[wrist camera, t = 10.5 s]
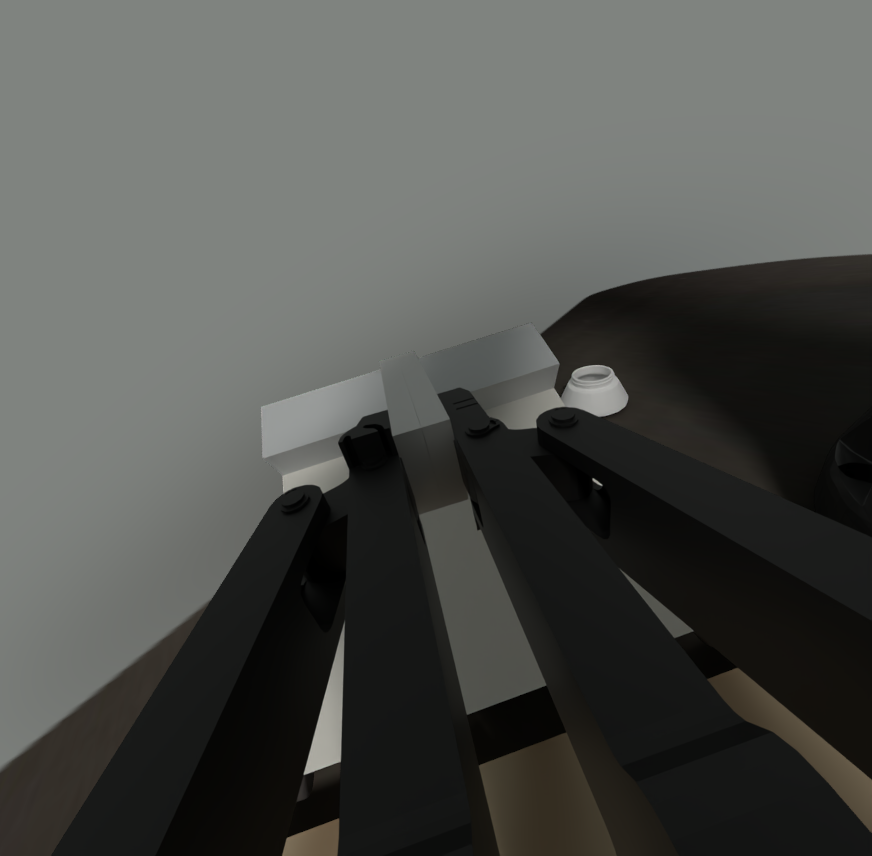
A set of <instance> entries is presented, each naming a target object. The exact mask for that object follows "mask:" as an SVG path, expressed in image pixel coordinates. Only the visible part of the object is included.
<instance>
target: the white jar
mask: <svg viewBox="0 0 872 856" xmlns="http://www.w3.org/2000/svg"><path fill="white" fill-rule="evenodd" d="M561 400H562V402H563V403H564V405H565V406H566V407H574V408H578V409H582V410H585V411H587V412H589V413H591V414H594V415H596V416H598V417H601V416H607V415H610V414H613V413H616V412H619V411H620V410H621V409H623V408H624V407H625V406H626V404H627V401H628V395H627V393H626V391H625V389H624V388H623V386H622V385H621V383H620V381H619V380H618V378H617V377H616V376H614V372H613V370H612V369H611V368H609V367H606V366H601V365H592V366H586V367H582V368H579V369H577V370H575V371H574V372H573V373H572V378H571V379H570V381H569V382H568V384H567V386H566V388H565V390H564V392H563V394H562V396H561Z"/></svg>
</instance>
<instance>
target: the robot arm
mask: <svg viewBox="0 0 872 856" xmlns="http://www.w3.org/2000/svg"><path fill="white" fill-rule="evenodd" d="M379 364H380V369H381V375H382V381H383V386H384V392H385V397H386V403H387V408H388V410H384V411H381V412H378V413H374V414H371V415H367V416H364V417H362V418H361V420H360V421H359V423H358V424H357V426H356V427H353V428H352V429H350V430H348V431H347V432H345V433H344V434H343V435H342V436H341V437H340V439H339V441H338V445H339V447H340V449H341V452H342V454H343V456H344V459H345V461H346V463H347V466H348V468H349V478H348V479H347V480H346V481H344V482H343V483H342V484H340V485H338V486H337V487H335V488H333V489H331V490H329V491H327V492H325V493H323V492H322V490H321V489H320V487H318V486H316V485H303V486H299V487H295V488H292V489H291V490H288V491H287V492H285V493H284V494H283V495H281V496H280V497H279V498H277V499H276V500H275V501H274V502H273V504H272V505H271V506H270V507H269V509H268V511H267V512H266V514H265V515H264V517H263V519H262V520H261V522H260V523H259V525H258V527H257V528H256V530H255V532H254V533H253V535H252V536H251V538H250V539H249V541H248V542H247V544H246V546H245V547H244V549H243V551H242V552H241V554H240V555H239V557H238V559H237V560H236V562H235V563H234V565H233V567H232V568H231V570H230V571H229V573H228V574H227V576H226V578H225V579H224V581H223V582H222V584H221V586H220V587H219V589H218V590H217V592H216V594H215V595H214V597H213V598H212V600H211V601H210V603H209V605H208V606H207V608H206V609H205V611H204V613H203V614H202V616H201V617H200V619H199V621H198V622H197V624H196V625H195V627H194V629H193V630H192V632H191V633H190V635H189V637H188V638H187V640H186V641H185V643H184V645H183V646H182V648H181V649H180V651H179V653H178V654H177V656H176V657H175V659H174V660H173V662H172V664H171V665H170V667H169V668H168V670H167V672H166V673H165V675H164V676H163V678H162V680H161V681H160V683H159V684H158V686H157V688H156V689H155V691H154V692H153V694H152V696H151V697H150V699H149V700H148V702H147V704H146V705H145V707H144V708H143V710H142V712H141V713H140V715H139V716H138V718H137V719H136V721H135V723H134V724H133V726H132V727H131V729H130V731H129V732H128V734H127V735H126V737H125V739H124V740H123V742H122V743H121V745H120V747H119V748H118V750H117V751H116V753H115V755H114V756H113V758H112V759H111V761H110V763H109V764H108V766H107V767H106V769H105V771H104V772H103V774H102V775H101V777H100V778H99V780H98V782H97V783H96V785H95V786H94V788H93V790H92V791H91V793H90V794H89V796H88V798H87V799H86V801H85V802H84V804H83V806H82V807H81V809H80V810H79V812H78V814H77V815H76V817H75V818H74V820H73V822H72V823H71V825H70V826H69V828H68V830H67V831H66V833H65V834H64V836H63V837H62V839H61V841H60V842H59V844H58V845H57V847H56V849H55V850H54V852H53V853H52V855H51V856H282V854H283V851H284V847H285V843H286V839H287V836H288V832H289V828H290V824H291V821H292V817H293V813H294V809H295V805H296V802H297V798H298V794H299V790H300V787H301V783H302V779H303V775H304V772H305V768H306V764H307V760H308V757H309V753H310V749H311V745H312V741H313V738H314V734H315V730H316V726H317V723H318V719H319V715H320V711H321V708H322V704H323V700H324V696H325V693H326V689H327V685H328V681H329V678H330V674H331V670H332V666H333V662H334V659H335V655H336V651H337V647H338V644H339V640H340V636H341V632H342V629H343V625H344V621H345V631H344V666H343V702H342V737H341V772H340V808H339V840H338V853H337V856H500V853H499V849H498V845H497V841H496V836H495V832H494V828H493V824H492V819H491V815H490V811H489V807H488V802H487V798H486V794H485V790H484V785H483V781H482V777H481V773H480V768H479V764H478V760H477V756H476V751H475V747H474V743H473V739H472V734H471V730H470V726H469V722H468V717H467V713H466V709H465V705H464V700H463V696H462V692H461V688H460V683H459V679H458V675H457V671H456V666H455V662H454V658H453V654H452V649H451V645H450V641H449V637H448V632H447V628H446V624H445V620H444V615H443V611H442V607H441V603H440V598H439V594H438V590H437V586H436V581H435V577H434V573H433V569H432V564H431V560H430V556H429V552H428V547H427V543H426V539H425V535H424V530H423V526H422V523H421V520H420V517H419V515H420V514H423V513H426V512H430V511H433V510H436V509H439V508H442V507H446V506H449V505H452V504H455V503H458V502H462V501H465V500H468V499H469V498H468V494H469V496H470V501H471V505H472V509H473V514H474V518H475V522H476V526H477V531H478V530H481V531H482V534H483V536H484V538H485V541H486V543H487V545H488V548H489V550H490V553H491V555H492V557H493V560H494V562H495V564H496V567H497V569H498V572H499V574H500V576H501V579H502V581H503V583H504V586H505V588H506V590H507V593H508V595H509V598H510V600H511V602H512V605H513V607H514V609H515V612H516V614H517V617H518V619H519V621H520V624H521V626H522V628H523V631H524V633H525V635H526V638H527V640H528V643H529V645H530V647H531V650H532V652H533V654H534V657H535V659H536V661H537V664H538V666H539V669H540V671H541V673H542V676H543V678H544V680H545V683H546V685H547V688H548V690H549V692H550V695H551V697H552V699H553V702H554V704H555V706H556V709H557V711H558V714H559V716H560V718H561V721H562V723H563V725H564V728H565V730H566V732H567V735H568V737H569V740H570V742H571V744H572V747H573V749H574V751H575V754H576V756H577V759H578V761H579V763H580V766H581V768H582V770H583V773H584V775H585V777H586V780H587V782H588V785H589V787H590V789H591V792H592V794H593V796H594V799H595V801H596V803H597V806H598V808H599V811H600V813H601V815H602V818H603V820H604V822H605V825H606V827H607V830H608V832H609V835H610V838H611V840H612V843H613V846H614V849H615V852H616V855H617V856H872V833H871V832H870V830H869V829H868V828H867V827H866V826H865V825H864V824H863V822H862V821H861V820H860V819H859V818H858V817H857V815H856V814H855V813H854V812H853V811H852V810H851V809H850V807H849V806H848V805H847V804H846V803H845V802H844V800H843V799H842V798H841V797H840V796H839V795H838V794H837V792H836V791H835V790H834V789H833V788H832V787H831V785H830V784H829V783H828V782H827V781H826V780H825V779H824V778H823V777H822V776H821V775H820V774H819V773H818V772H817V771H816V770H815V769H814V767H813V766H812V765H811V764H810V763H809V762H808V761H807V760H806V759H805V758H804V757H803V756H802V755H801V754H800V753H799V752H798V751H797V750H796V749H794V748H793V747H792V746H790V745H789V744H788V743H787V742H785V741H784V740H783V739H781V738H780V737H779V736H778V735H776V734H775V733H774V732H772V731H770V730H767V729H765V728H762V727H760V726H757V725H755V724H752V723H750V722H747V721H745V720H744V719H743V718H742V717H740V716H739V715H738V714H737V713H735V712H734V711H733V710H732V709H731V707H730V706H729V705H728V704H727V703H726V702H725V701H724V700H723V699H722V697H721V696H720V695H719V694H718V692H717V691H716V690H715V689H714V687H713V686H712V685H711V684H710V682H709V681H708V680H707V678H706V677H705V676H704V675H703V673H702V672H701V671H700V670H699V668H698V667H697V666H696V665H695V663H694V662H693V661H692V660H691V658H690V657H689V656H688V655H687V653H686V652H685V651H684V650H683V648H682V647H681V646H680V644H679V643H678V642H677V641H676V639H675V638H674V637H673V636H672V634H671V633H670V632H669V631H668V629H667V628H666V627H665V626H664V624H663V623H662V622H661V621H660V619H659V618H658V617H657V616H656V614H655V613H654V612H653V610H652V609H651V608H650V607H649V605H648V604H647V603H646V602H645V600H644V599H643V598H642V597H641V595H640V594H639V593H638V592H637V590H636V589H635V588H634V587H633V585H632V584H631V583H630V582H629V580H628V579H627V578H626V577H625V575H624V574H623V573H622V571H623V572H624V573H625V574H627V575H628V576H629V577H630V578H631V579H633V580H634V581H635V582H636V583H637V584H639V585H640V586H641V587H642V588H643V589H644V590H646V591H647V592H648V593H649V594H650V595H652V596H653V597H654V598H655V599H656V600H658V601H659V602H660V603H661V604H662V605H664V606H665V607H666V608H667V609H668V610H670V611H671V612H672V613H673V614H674V615H676V616H677V617H678V618H679V619H680V620H682V621H683V622H684V623H685V624H686V625H687V626H689V627H690V628H691V629H692V630H693V631H695V632H696V633H697V634H698V635H699V636H701V637H702V638H703V639H704V640H705V641H707V642H708V643H709V644H710V645H711V646H713V647H714V648H715V649H716V650H717V651H719V652H720V653H721V654H722V655H723V656H724V657H726V658H727V659H728V660H729V661H730V662H732V663H733V664H734V665H735V666H736V667H738V668H739V669H740V670H741V671H742V672H744V673H745V674H746V675H747V676H748V677H750V678H751V679H752V680H753V681H754V682H756V683H757V684H758V685H759V686H760V687H762V688H763V689H764V690H765V691H766V692H767V693H769V694H770V695H771V696H772V697H773V698H775V699H776V700H777V701H778V702H779V703H781V704H782V705H783V706H784V707H785V708H787V709H788V710H789V711H790V712H791V713H793V714H794V715H795V716H796V717H797V718H799V719H800V720H801V721H802V722H803V723H804V724H806V725H807V726H808V727H809V728H810V729H812V730H813V731H814V732H815V733H816V734H818V735H819V736H820V737H821V738H822V739H824V740H825V741H826V742H827V743H828V744H830V745H831V746H832V747H833V748H834V749H836V750H837V751H838V752H839V753H840V754H842V755H843V756H844V757H845V758H846V759H847V760H849V761H850V762H851V763H852V764H853V765H855V766H856V767H857V768H858V769H859V770H861V771H862V772H863V773H864V774H865V775H867V776H868V777H869V778H870V779H871V780H872V407H871V408H870V409H869V410H868V411H867V412H866V413H865V414H864V415H863V416H862V417H861V418H860V419H859V420H857V421H856V422H855V423H854V424H853V425H852V426H851V427H850V428H849V429H848V430H847V431H846V432H845V433H844V434H843V435H842V436H841V437H840V438H839V439H838V440H837V441H836V443H835V444H834V446H833V447H832V449H831V450H830V452H829V454H828V456H827V458H826V461H825V464H824V466H823V469H822V472H821V474H820V477H819V479H818V482H817V485H816V488H815V494H814V505H815V510H816V512H813V511H811V510H809V509H807V508H804V507H802V506H800V505H798V504H795V503H793V502H791V501H788V500H786V499H784V498H782V497H779V496H777V495H775V494H773V493H770V492H768V491H766V490H764V489H761V488H759V487H757V486H754V485H752V484H750V483H748V482H745V481H743V480H741V479H739V478H736V477H734V476H732V475H730V474H727V473H725V472H723V471H721V470H718V469H716V468H714V467H711V466H709V465H707V464H705V463H702V462H700V461H698V460H696V459H693V458H691V457H689V456H687V455H684V454H682V453H680V452H678V451H675V450H673V449H671V448H668V447H666V446H664V445H662V444H659V443H657V442H655V441H653V440H650V439H648V438H646V437H644V436H641V435H639V434H637V433H635V432H632V431H630V430H628V429H625V428H623V427H621V426H619V425H616V424H614V423H612V422H610V421H607V420H605V419H603V418H601V417H598V416H596V415H594V414H591V413H589V412H587V411H585V410H582V409H578V408H574V407H560V408H559V407H557V408H553V409H550V410H547V411H545V412H543V413H542V414H540V415H539V416H538V418H537V419H536V425H537V428H529V429H516V430H514V429H508V428H507V427H506V425H505V424H504V423H503V422H502V421H500V420H499V419H496V418H492V417H489V416H488V415H487V414H486V412H485V411H484V410H483V408H482V407H481V406H480V404H478V402H477V400H476V399H475V398H474V396H473V395H472V394H471V392H470V391H468V390H466V389H463V388H460V387H459V388H456V389H453V390H449V391H446V392H442V393H439V394H437V393H436V391H435V390H434V388H433V386H432V384H431V382H430V380H429V378H428V376H427V374H426V372H425V370H424V368H423V367H422V365H421V363H420V361H419V359H418V357H417V355H416V353H415V351H412V352H409V353H405V354H402V355H398V356H394V357H391V358H388V359H384V360H380V361H379ZM593 478H594V479H595V480H597V481H598V482H599V483H600V484H602V486H601V485H598V484H597V483H595V482H594V481H593ZM467 492H468V494H467ZM620 569H621V570H622V571H621V570H620Z"/></svg>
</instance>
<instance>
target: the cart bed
mask: <svg viewBox="0 0 872 856" xmlns="http://www.w3.org/2000/svg"><path fill="white" fill-rule="evenodd" d="M693 632H694V633H695V634H696V635H697V637H698V638H699V639H700V640H701V641H702V642H704V643H705V644H706V645H708V646H710V647H713V646H711V645H710V644H709V643H708V642H707V641H705V640H704V639H703V638H702V637H701V636H699V635H698V634H697V633H696V632H695V631H693ZM707 680H708V681H709V682H710V684H711V685H712V686H713V687H714V689H715V690H716V691H717V692H718V694H719V695H720V696H721V697H722V699H723V700H724V701H725V702H726V703H727V704H728V705H729V706H730V707H731V709H732V710H733V711H734V712H735V713H737V714H738V715H739V716H740V717H742V718H743V719H744V720H745V721H747V722H750V723H752V724H755V725H757V726H760V727H762V728H765V729H767V730H770V731H772V732H774V733H775V734H776V735H778V736H779V737H780V738H781V739H783V740H784V741H785V742H787V743H788V744H789V745H790V746H792V747H793V748H794V749H796V750H797V751H798V752H799V753H800V754H801V755H802V756H803V757H804V758H805V759H806V760H807V761H808V762H809V763H810V764H811V765H812V766H813V767H814V769H815V770H816V771H817V772H818V773H819V774H820V775H821V776H822V777H823V778H824V779H825V780H826V781H827V782H828V783H829V784H830V785H831V787H832V788H833V789H834V790H835V791H836V792H837V794H838V795H839V796H840V797H841V798H842V799H843V800H844V802H845V803H846V804H847V805H848V806H849V807H850V809H851V810H852V811H853V812H854V813H855V814H856V815H857V817H858V818H859V819H860V820H861V821H862V822H863V824H864V825H865V826H866V827H867V828H868V829H869V830H870V832H871V833H872V780H871V779H870V778H869V777H868V776H867V775H865V774H864V773H863V772H862V771H861V770H859V769H858V768H857V767H856V766H855V765H853V764H852V763H851V762H850V761H849V760H847V759H846V758H845V757H844V756H843V755H842V754H840V753H839V752H838V751H837V750H836V749H834V748H833V747H832V746H831V745H830V744H828V743H827V742H826V741H825V740H824V739H822V738H821V737H820V736H819V735H818V734H816V733H815V732H814V731H813V730H812V729H810V728H809V727H808V726H807V725H806V724H804V723H803V722H802V721H801V720H800V719H799V718H797V717H796V716H795V715H794V714H793V713H791V712H790V711H789V710H788V709H787V708H785V707H784V706H783V705H782V704H781V703H779V702H778V701H777V700H776V699H775V698H773V697H772V696H771V695H770V694H769V693H767V692H766V691H765V690H764V689H763V688H762V687H760V686H759V685H758V684H757V683H756V682H754V681H753V680H752V679H751V678H750V677H748V676H747V675H746V674H745V673H744V672H742V671H741V670H740V669H739V668H736V669H733V670H730V671H728V672H725V673H722V674H720V675H717V676H714V677H712V678H709V679H707ZM479 768H480V773H481V777H482V781H483V785H484V790H485V794H486V798H487V802H488V807H489V811H490V815H491V819H492V824H493V828H494V832H495V836H496V841H497V845H498V849H499V853H500V856H617V855H616V852H615V849H614V846H613V843H612V840H611V838H610V835H609V832H608V830H607V827H606V825H605V822H604V820H603V818H602V815H601V813H600V811H599V808H598V806H597V803H596V801H595V799H594V796H593V794H592V792H591V789H590V787H589V785H588V782H587V780H586V777H585V775H584V773H583V770H582V768H581V766H580V763H579V761H578V759H577V756H576V754H575V751H574V749H573V747H572V744H571V742H570V740H569V737H568V735H567V732H566V733H563V734H561V735H558V736H556V737H553V738H550V739H548V740H545V741H542V742H540V743H537V744H534V745H532V746H529V747H526V748H524V749H521V750H518V751H516V752H513V753H511V754H508V755H505V756H503V757H500V758H497V759H495V760H492V761H489V762H487V763H484V764H481V765H479ZM313 780H314V772H311V773H308V774H305V775H303V779H302V783H301V787H300V790H299V794H298V798H297V802H298V801H301V800H304V799H306V798H308V797H309V795H310V793H311V790H312V786H313ZM338 840H339V819H336V820H333V821H331V822H328V823H325V824H323V825H320V826H317V827H315V828H312V829H309V830H307V831H304V832H301V833H299V834H296V835H294V836H291V837H288V838H287V839H286V843H285V847H284V851H283V854H282V856H337V853H338Z"/></svg>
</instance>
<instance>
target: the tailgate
mask: <svg viewBox="0 0 872 856" xmlns="http://www.w3.org/2000/svg"><path fill="white" fill-rule="evenodd" d="M418 359H419V361H420V363H421V365H422V367H423V368H424V370H425V372H426V374H427V376H428V378H429V380H430V382H431V384H432V386H433V388H434V390H435V391H436V393H437V394H439V393H442V392H446V391H449V390H453V389H456V388H459V387H460V388H463V389H466V390H468V391H470V392H471V394H472V395H473V396H474V398H475V399H476V400H477V402H478V404H480V406H481V407H482V408H483V410H484V411H485V412H486V414H487V415H488V416H489V417H492V418H496V419H499V420H500V421H502V422H503V423H504V424H505V425H506V427H507V428H508V429H514V430H516V429H529V428H537V425H536V419H537V418H538V416H539V415H540V414H542V413H543V412H545V411H547V410H550V409H553V408H557V407H559V408H560V407H566V406H565V405H564V403H563V402H562V400H561V398H560V397H559V395H558V394H557V392H556V391H555V389H554V385H555V381H556V377H557V372H558V368H559V364H560V363H559V362H558V360H557V359H556V357H555V356H554V354H553V353H552V352H551V350H550V349H549V347H548V346H547V344H546V343H545V341H544V340H543V338H542V337H541V335H540V334H539V332H538V331H537V330H536V328H535V327H534V325H533V324H532V323H528V324H525V325H521V326H519V327H515V328H512V329H509V330H506V331H502V332H499V333H496V334H493V335H489V336H486V337H483V338H480V339H477V340H473V341H470V342H467V343H464V344H461V345H457V346H454V347H451V348H448V349H445V350H441V351H438V352H435V353H432V354H429V355H426V356H422V357H419V358H418ZM384 410H388V408H387V403H386V397H385V392H384V386H383V381H382V375H381V370H377V371H374V372H371V373H368V374H365V375H362V376H358V377H355V378H352V379H349V380H346V381H342V382H339V383H336V384H333V385H329V386H326V387H323V388H320V389H317V390H313V391H310V392H307V393H304V394H301V395H297V396H294V397H291V398H288V399H285V400H281V401H278V402H275V403H272V404H269V405H265V406H262V407H261V418H262V452H263V459H264V460H265V461H266V462H267V463H268V464H269V465H271V466H272V467H273V468H274V469H275V470H276V471H278V472H279V473H280V474H281V475H282V476H283V493H285V492H287V491H288V490H291V489H292V488H295V487H299V486H303V485H316V486H318V487H320V489H321V490H322V492H323V493H325V492H327V491H329V490H331V489H333V488H335V487H337V486H338V485H340V484H342V483H343V482H344V481H346V480H347V479H348V478H349V468H348V466H347V463H346V461H345V459H344V456H343V454H342V452H341V449H340V447H339V445H338V441H339V439H340V437H341V436H342V435H343V434H344V433H345V432H347V431H348V430H350V429H352V428H353V427H356V426H357V424H358V423H359V421H360V420H361V418H362V417H364V416H367V415H371V414H374V413H378V412H381V411H384ZM593 481H594V482H595V483H597V484H598V485H601V486H602V484H600V483H599V482H598V481H597V480H595V479H594V478H593ZM467 494H468V492H467ZM468 498H469V499H468V500H465V501H462V502H458V503H455V504H452V505H449V506H446V507H442V508H439V509H436V510H433V511H430V512H426V513H423V514H420V515H419V517H420V520H421V523H422V526H423V530H424V535H425V539H426V543H427V547H428V552H429V556H430V560H431V564H432V569H433V573H434V577H435V581H436V586H437V590H438V594H439V598H440V603H441V607H442V611H443V615H444V620H445V624H446V628H447V632H448V637H449V641H450V645H451V649H452V654H453V658H454V662H455V666H456V671H457V675H458V679H459V683H460V688H461V692H462V696H463V700H464V705H465V709H466V713H467V715H468V714H471V713H473V712H476V711H479V710H481V709H484V708H487V707H490V706H492V705H495V704H498V703H500V702H503V701H506V700H508V699H511V698H514V697H517V696H519V695H522V694H525V693H527V692H530V691H533V690H536V689H538V688H541V687H544V686H546V683H545V680H544V678H543V676H542V673H541V671H540V669H539V666H538V664H537V661H536V659H535V657H534V654H533V652H532V650H531V647H530V645H529V643H528V640H527V638H526V635H525V633H524V631H523V628H522V626H521V624H520V621H519V619H518V617H517V614H516V612H515V609H514V607H513V605H512V602H511V600H510V598H509V595H508V593H507V590H506V588H505V586H504V583H503V581H502V579H501V576H500V574H499V572H498V569H497V567H496V564H495V562H494V560H493V557H492V555H491V553H490V550H489V548H488V545H487V543H486V541H485V538H484V536H483V534H482V531H481V530H478V531H477V526H476V522H475V518H474V514H473V509H472V505H471V501H470V496H469V494H468ZM620 570H621V569H620ZM621 571H622V570H621ZM622 573H623V574H624V575H625V577H626V578H627V579H628V580H629V582H630V583H631V584H632V585H633V587H634V588H635V589H636V590H637V592H638V593H639V594H640V595H641V597H642V598H643V599H644V600H645V602H646V603H647V604H648V605H649V607H650V608H651V609H652V610H653V612H654V613H655V614H656V616H657V617H658V618H659V619H660V621H661V622H662V623H663V624H664V626H665V627H666V628H667V629H668V631H669V632H670V633H671V634H672V636H673V637H674V638H676V637H679V636H682V635H684V634H687V633H690V632H693V630H692V629H691V628H690V627H689V626H687V625H686V624H685V623H684V622H683V621H682V620H680V619H679V618H678V617H677V616H676V615H674V614H673V613H672V612H671V611H670V610H668V609H667V608H666V607H665V606H664V605H662V604H661V603H660V602H659V601H658V600H656V599H655V598H654V597H653V596H652V595H650V594H649V593H648V592H647V591H646V590H644V589H643V588H642V587H641V586H640V585H639V584H637V583H636V582H635V581H634V580H633V579H631V578H630V577H629V576H628V575H627V574H625V573H624V572H623V571H622ZM344 631H345V621H344V625H343V629H342V632H341V636H340V640H339V644H338V647H337V651H336V655H335V659H334V662H333V666H332V670H331V674H330V678H329V681H328V685H327V689H326V693H325V696H324V700H323V704H322V708H321V711H320V715H319V719H318V723H317V726H316V730H315V734H314V738H313V741H312V745H311V749H310V753H309V757H308V760H307V764H306V768H305V772H304V775H305V774H308V773H311V772H314V771H316V770H319V769H322V768H324V767H327V766H330V765H332V764H335V763H338V762H341V737H342V702H343V666H344Z"/></svg>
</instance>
